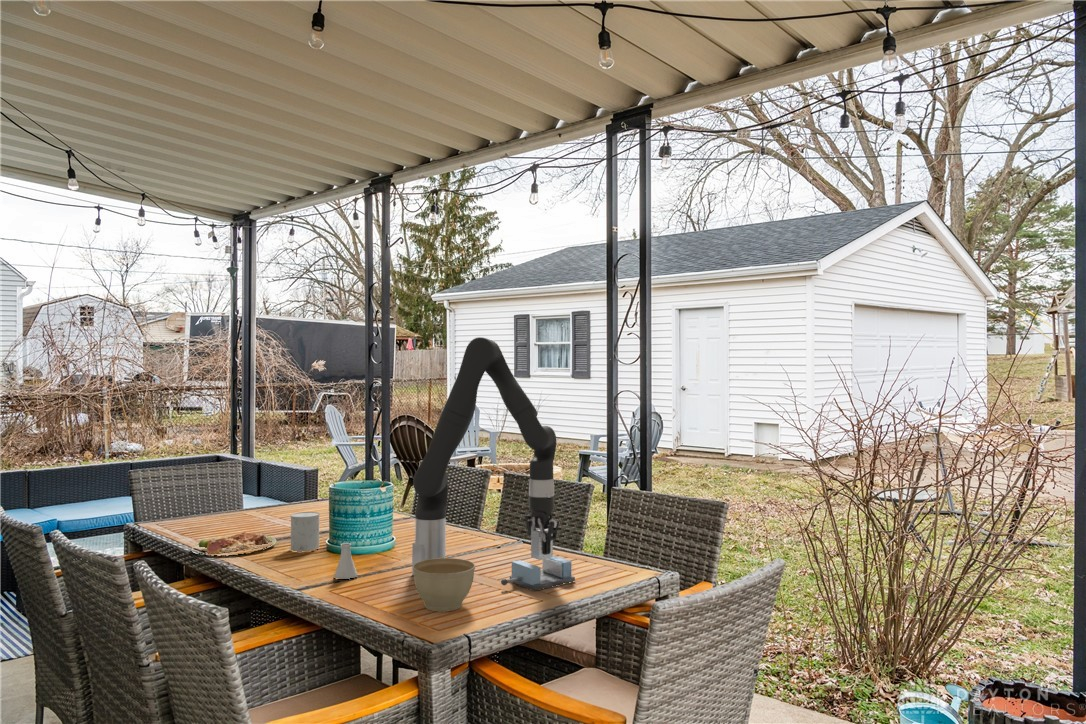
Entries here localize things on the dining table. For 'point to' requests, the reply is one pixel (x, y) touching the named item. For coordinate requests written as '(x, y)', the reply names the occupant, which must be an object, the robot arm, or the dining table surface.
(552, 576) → the vise
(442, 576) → the planter bowl
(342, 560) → the flask
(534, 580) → the sliding jaw
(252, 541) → the rice dish
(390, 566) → the dining table surface
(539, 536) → the steel block
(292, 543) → the grey cylinder
